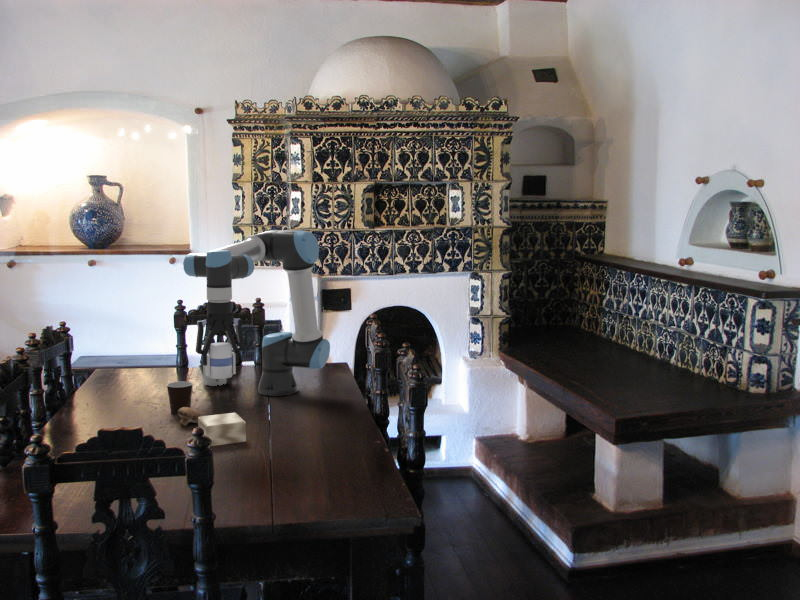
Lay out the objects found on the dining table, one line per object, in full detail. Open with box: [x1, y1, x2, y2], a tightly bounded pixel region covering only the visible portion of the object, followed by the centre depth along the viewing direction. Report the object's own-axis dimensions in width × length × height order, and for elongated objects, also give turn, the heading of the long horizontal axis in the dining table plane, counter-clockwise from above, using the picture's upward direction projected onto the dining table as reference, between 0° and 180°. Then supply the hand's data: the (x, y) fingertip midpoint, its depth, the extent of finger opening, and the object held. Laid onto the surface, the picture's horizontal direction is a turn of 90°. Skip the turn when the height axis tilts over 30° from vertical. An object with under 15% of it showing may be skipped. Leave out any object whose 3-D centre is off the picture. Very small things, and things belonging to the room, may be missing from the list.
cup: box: [202, 352, 228, 387], centre depth 306 cm, size 9×9×12 cm
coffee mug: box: [166, 381, 194, 416], centre depth 265 cm, size 12×9×10 cm
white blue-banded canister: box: [208, 341, 233, 379], centre depth 231 cm, size 7×7×10 cm
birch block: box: [197, 412, 247, 447], centre depth 234 cm, size 12×12×6 cm
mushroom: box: [178, 406, 201, 426], centre depth 249 cm, size 8×8×6 cm
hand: (220, 374), depth 232 cm, fingers closed on white blue-banded canister, 7 cm apart
